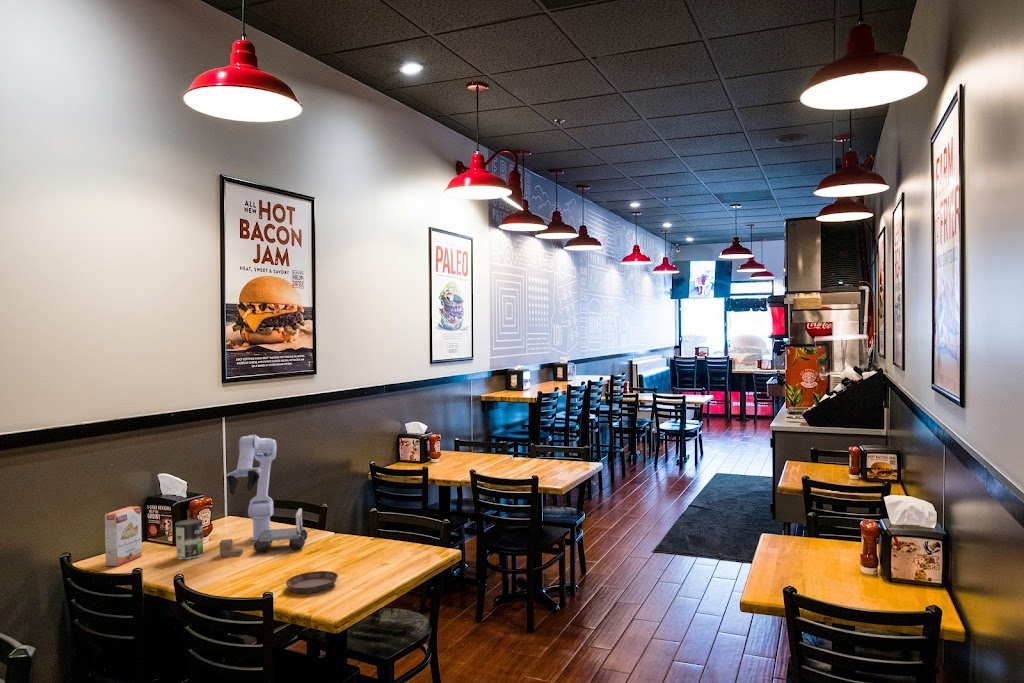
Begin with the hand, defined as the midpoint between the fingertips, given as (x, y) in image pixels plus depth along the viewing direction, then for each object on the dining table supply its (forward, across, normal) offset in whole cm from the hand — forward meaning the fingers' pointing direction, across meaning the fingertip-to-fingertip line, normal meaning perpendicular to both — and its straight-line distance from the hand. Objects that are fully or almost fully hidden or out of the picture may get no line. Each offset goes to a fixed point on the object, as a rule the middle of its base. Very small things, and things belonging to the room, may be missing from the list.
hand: (240, 491), depth 289 cm
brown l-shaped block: (+18, -11, +17) cm, 28 cm away
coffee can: (+17, -28, +14) cm, 36 cm away
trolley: (+14, +5, +28) cm, 31 cm away
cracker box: (+18, -52, +6) cm, 55 cm away
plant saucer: (+47, +39, -6) cm, 61 cm away
